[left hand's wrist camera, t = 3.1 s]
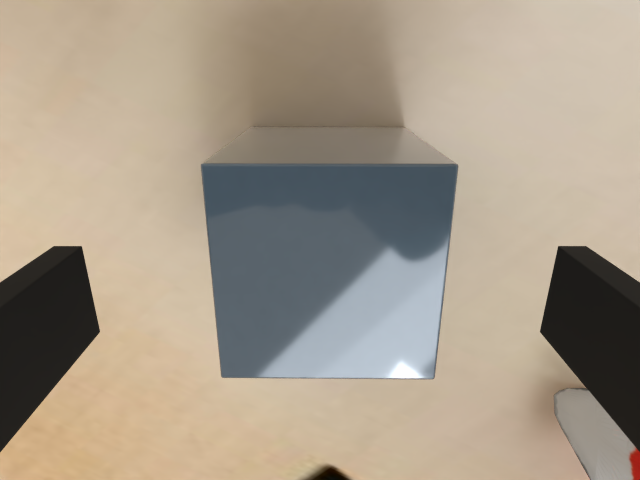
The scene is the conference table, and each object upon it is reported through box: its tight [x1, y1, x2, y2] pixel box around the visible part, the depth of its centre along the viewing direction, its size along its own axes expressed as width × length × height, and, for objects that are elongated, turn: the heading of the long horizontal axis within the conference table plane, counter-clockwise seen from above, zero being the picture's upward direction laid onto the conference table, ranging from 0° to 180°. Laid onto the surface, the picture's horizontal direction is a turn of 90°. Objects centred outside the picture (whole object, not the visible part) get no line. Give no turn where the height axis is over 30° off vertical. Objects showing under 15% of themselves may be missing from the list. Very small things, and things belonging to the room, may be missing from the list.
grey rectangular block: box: [201, 127, 458, 379], centre depth 17 cm, size 7×7×9 cm
